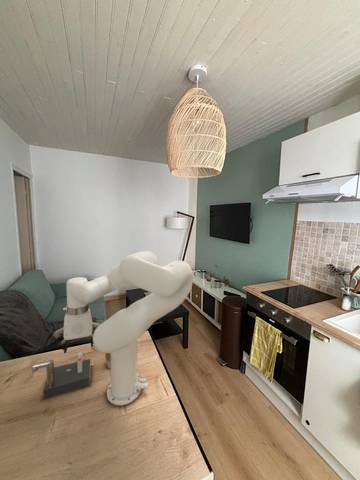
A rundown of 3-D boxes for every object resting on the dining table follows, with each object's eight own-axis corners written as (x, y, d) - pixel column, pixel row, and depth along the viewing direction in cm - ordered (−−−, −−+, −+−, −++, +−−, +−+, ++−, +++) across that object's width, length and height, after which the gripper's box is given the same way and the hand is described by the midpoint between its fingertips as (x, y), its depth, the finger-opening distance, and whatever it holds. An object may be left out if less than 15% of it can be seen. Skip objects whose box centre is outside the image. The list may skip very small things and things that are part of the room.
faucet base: (94, 365, 86) (94, 357, 86) (94, 384, 76) (93, 376, 76) (50, 376, 80) (50, 367, 80) (43, 398, 70) (43, 389, 70)
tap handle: (79, 362, 83) (78, 351, 82) (83, 361, 83) (82, 350, 83) (77, 373, 77) (77, 361, 77) (82, 372, 78) (81, 359, 77)
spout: (55, 380, 74) (54, 357, 73) (54, 385, 72) (52, 362, 70) (34, 386, 71) (32, 362, 70) (32, 391, 69) (30, 367, 68)
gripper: (50, 316, 71) (52, 359, 73) (101, 309, 78) (102, 349, 80) (54, 307, 78) (56, 347, 80) (101, 301, 84) (101, 338, 86)
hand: (79, 348), depth 80 cm, fingers open, 9 cm apart
